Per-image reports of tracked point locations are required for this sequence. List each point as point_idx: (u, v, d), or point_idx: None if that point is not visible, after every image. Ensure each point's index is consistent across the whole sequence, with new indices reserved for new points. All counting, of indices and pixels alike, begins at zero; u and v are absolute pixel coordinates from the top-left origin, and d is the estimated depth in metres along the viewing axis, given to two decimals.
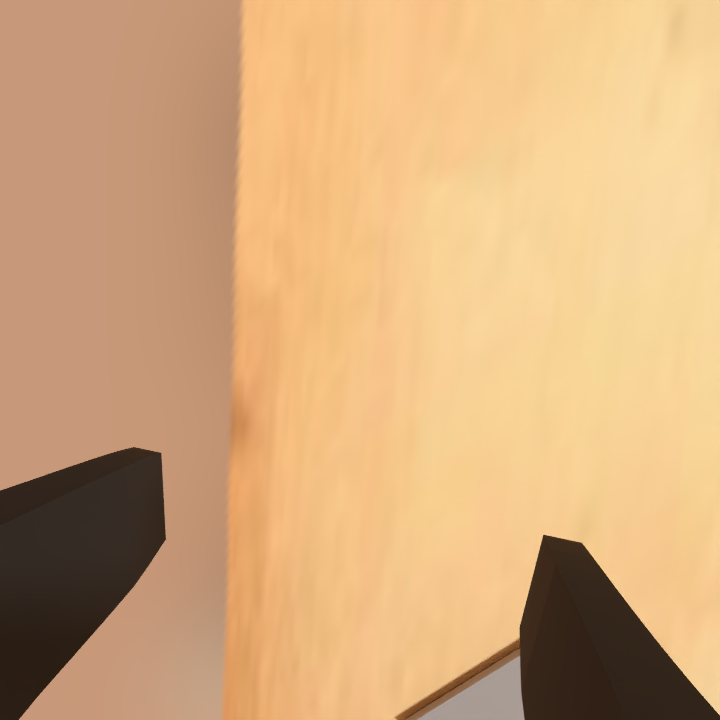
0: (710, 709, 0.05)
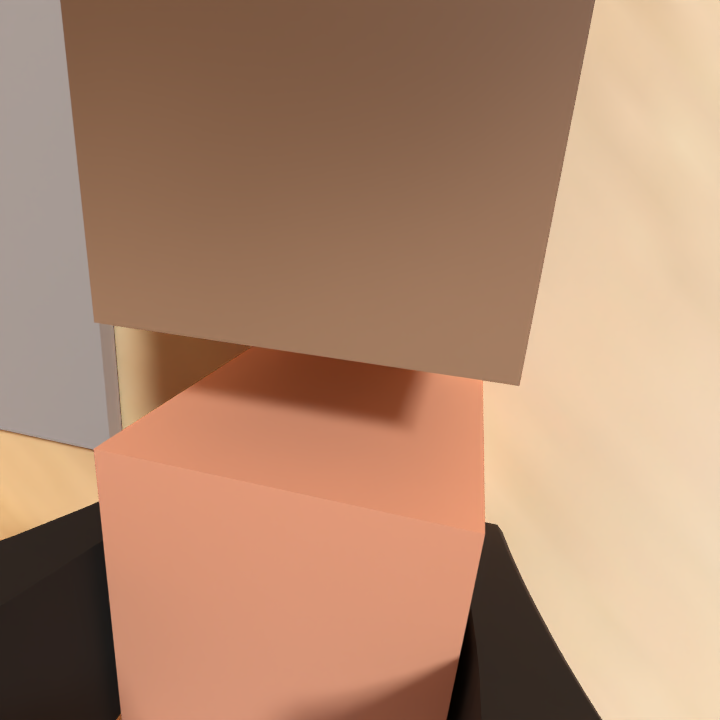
0: (570, 672, 0.05)
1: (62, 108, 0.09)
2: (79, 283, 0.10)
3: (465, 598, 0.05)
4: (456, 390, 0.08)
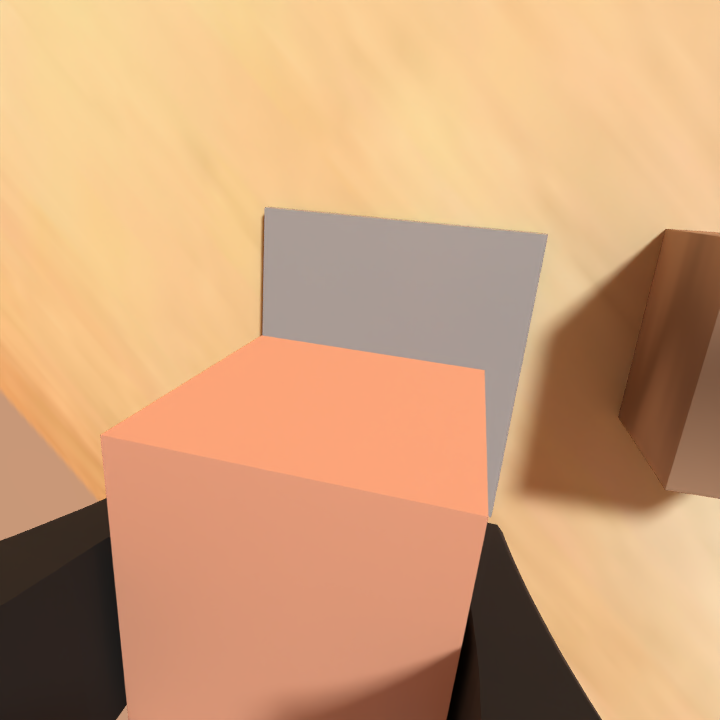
0: (571, 672, 0.05)
1: (516, 331, 0.16)
2: (498, 421, 0.17)
3: (468, 581, 0.05)
4: (458, 381, 0.08)
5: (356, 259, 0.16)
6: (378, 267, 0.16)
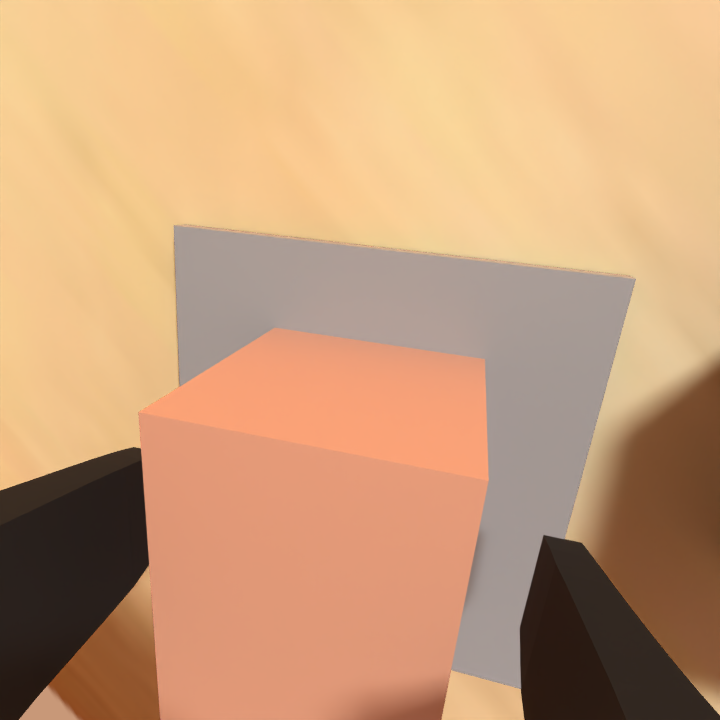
0: (708, 708, 0.05)
1: (573, 430, 0.10)
2: None
3: (471, 540, 0.06)
4: (460, 368, 0.09)
5: (317, 309, 0.10)
6: (352, 322, 0.10)
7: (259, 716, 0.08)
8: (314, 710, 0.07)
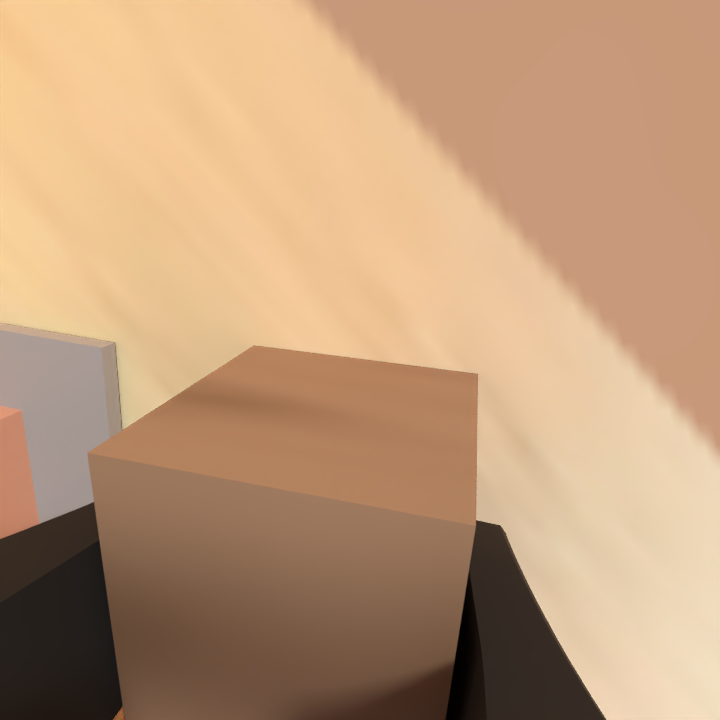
0: (574, 673, 0.05)
1: None
2: None
3: None
4: None
5: None
6: None
7: None
8: None
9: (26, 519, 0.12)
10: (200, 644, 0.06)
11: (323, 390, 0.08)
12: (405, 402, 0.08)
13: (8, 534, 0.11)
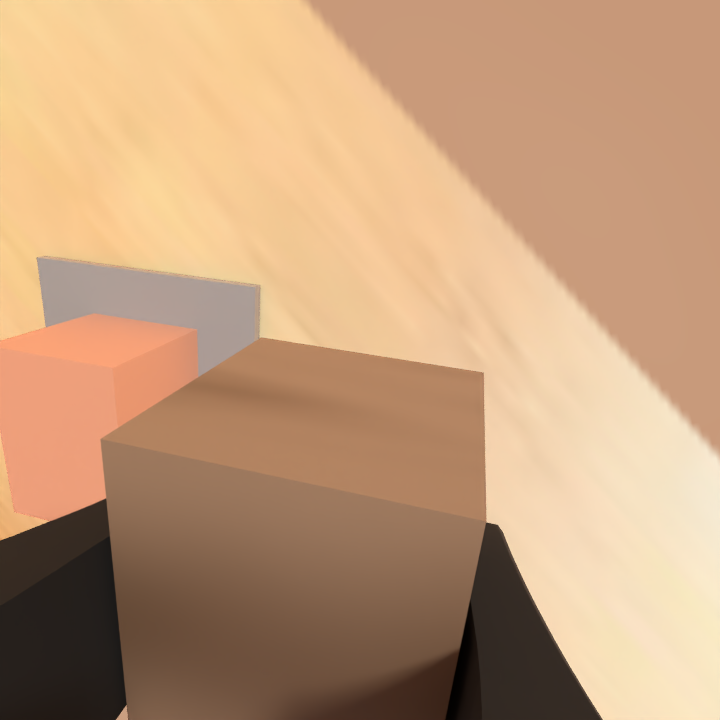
0: (572, 672, 0.05)
1: None
2: None
3: (114, 394, 0.14)
4: (173, 333, 0.17)
5: (114, 303, 0.19)
6: (131, 310, 0.18)
7: (53, 492, 0.16)
8: (75, 486, 0.16)
9: None
10: (206, 630, 0.06)
11: (331, 384, 0.08)
12: (413, 398, 0.08)
13: None
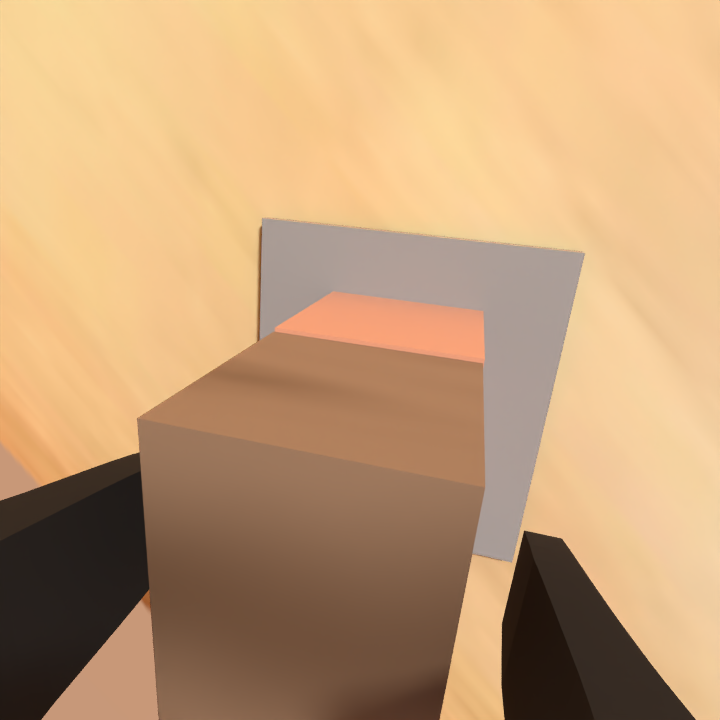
0: (675, 700, 0.05)
1: (545, 361, 0.14)
2: (522, 459, 0.15)
3: None
4: (466, 315, 0.13)
5: (365, 277, 0.14)
6: (389, 286, 0.14)
7: None
8: None
9: None
10: (229, 594, 0.07)
11: (342, 372, 0.08)
12: (417, 385, 0.08)
13: None
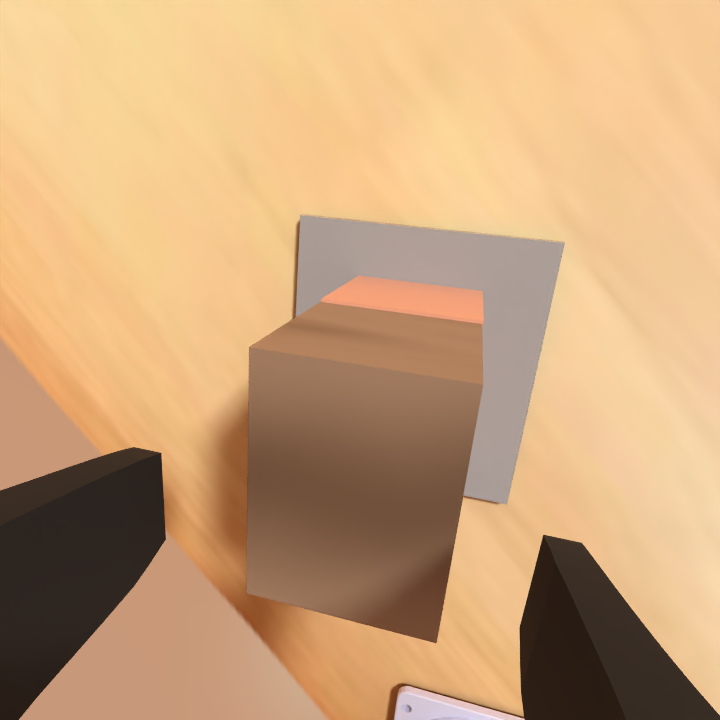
0: (708, 708, 0.05)
1: (533, 332, 0.17)
2: (515, 414, 0.18)
3: None
4: (469, 293, 0.16)
5: (385, 264, 0.17)
6: (405, 271, 0.17)
7: None
8: None
9: None
10: (306, 473, 0.10)
11: (378, 327, 0.12)
12: (434, 335, 0.11)
13: None
